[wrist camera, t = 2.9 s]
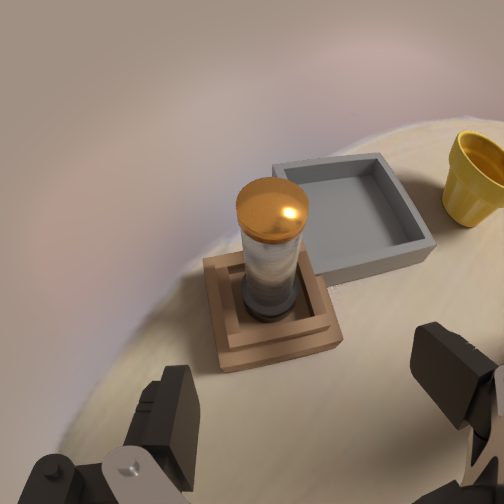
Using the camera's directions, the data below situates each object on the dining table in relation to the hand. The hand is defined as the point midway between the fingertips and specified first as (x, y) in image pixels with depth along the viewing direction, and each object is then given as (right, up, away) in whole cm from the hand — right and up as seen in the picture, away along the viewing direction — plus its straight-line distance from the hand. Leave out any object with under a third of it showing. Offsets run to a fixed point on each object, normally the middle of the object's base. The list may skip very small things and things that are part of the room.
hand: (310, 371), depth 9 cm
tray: (+9, +7, +23) cm, 26 cm away
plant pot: (+27, +10, +24) cm, 37 cm away
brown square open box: (0, -1, +18) cm, 18 cm away
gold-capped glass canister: (0, 0, +16) cm, 16 cm away
